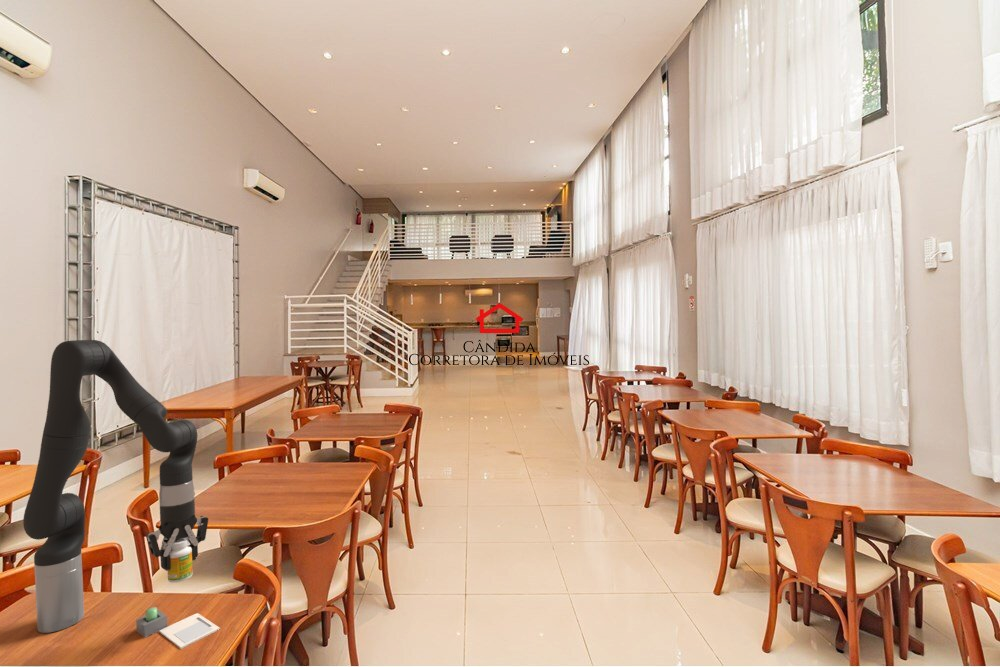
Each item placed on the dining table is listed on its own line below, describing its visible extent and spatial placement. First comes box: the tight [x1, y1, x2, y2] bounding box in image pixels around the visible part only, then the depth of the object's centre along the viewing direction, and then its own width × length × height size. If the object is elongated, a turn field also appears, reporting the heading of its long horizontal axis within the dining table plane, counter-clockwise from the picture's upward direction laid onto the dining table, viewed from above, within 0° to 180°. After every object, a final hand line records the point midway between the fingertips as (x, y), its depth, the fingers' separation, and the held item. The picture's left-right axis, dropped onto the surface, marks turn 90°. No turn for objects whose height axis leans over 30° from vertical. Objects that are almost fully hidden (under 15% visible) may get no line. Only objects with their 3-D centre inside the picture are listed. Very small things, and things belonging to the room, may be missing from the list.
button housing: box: [135, 609, 168, 638], centre depth 126 cm, size 5×5×3 cm
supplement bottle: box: [167, 538, 194, 584], centre depth 127 cm, size 5×5×10 cm
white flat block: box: [158, 612, 221, 650], centre depth 125 cm, size 12×9×1 cm
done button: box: [145, 606, 158, 623], centre depth 126 cm, size 2×2×3 cm
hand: (179, 564), depth 127 cm, fingers closed on supplement bottle, 5 cm apart
